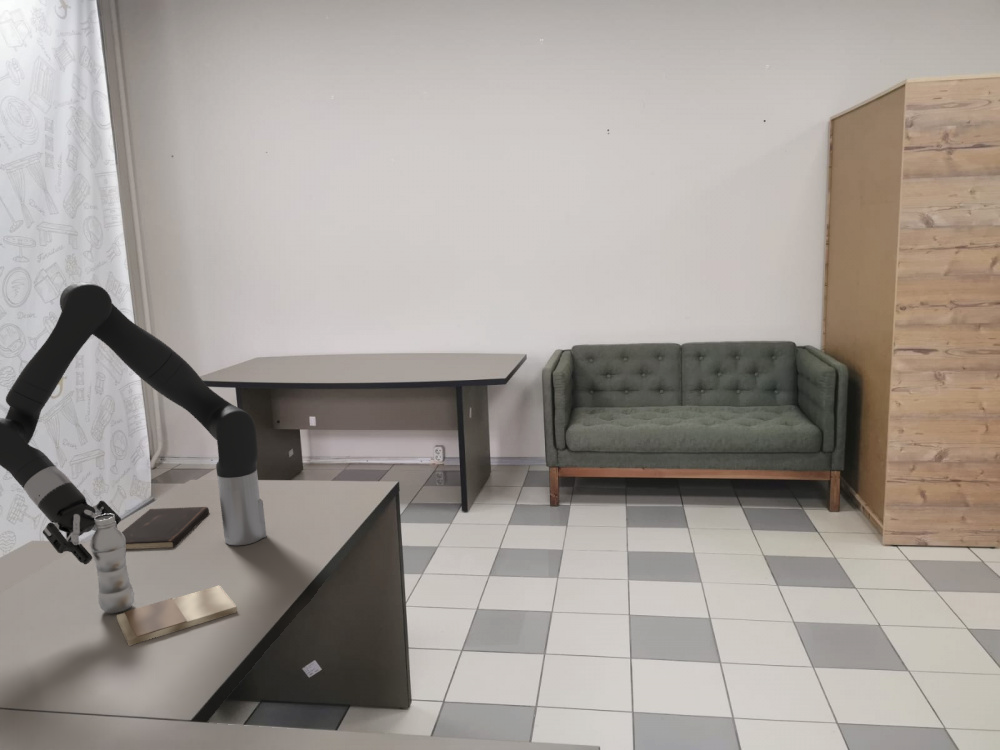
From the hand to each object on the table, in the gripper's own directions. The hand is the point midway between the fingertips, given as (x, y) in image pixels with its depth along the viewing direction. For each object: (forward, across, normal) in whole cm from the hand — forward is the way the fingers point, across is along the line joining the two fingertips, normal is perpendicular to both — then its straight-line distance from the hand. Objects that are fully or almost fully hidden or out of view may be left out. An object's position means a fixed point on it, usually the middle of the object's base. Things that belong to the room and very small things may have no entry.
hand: (106, 552), depth 157 cm
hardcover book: (-6, +37, +25) cm, 45 cm away
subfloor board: (+19, +1, -2) cm, 20 cm away
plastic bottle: (+10, 0, +8) cm, 13 cm away
